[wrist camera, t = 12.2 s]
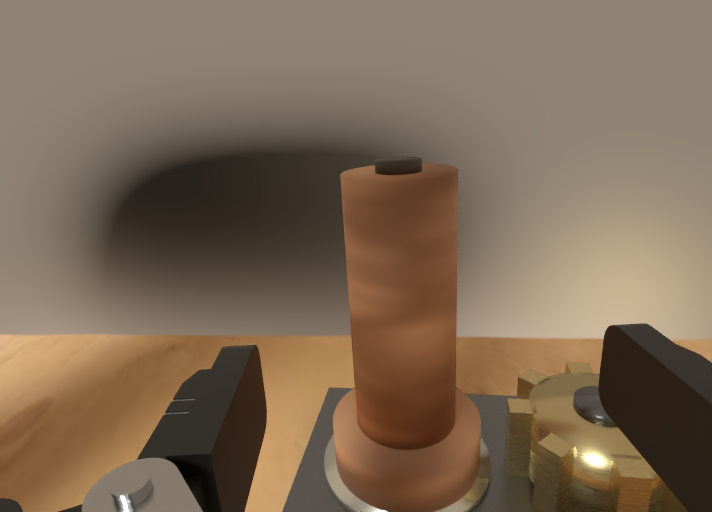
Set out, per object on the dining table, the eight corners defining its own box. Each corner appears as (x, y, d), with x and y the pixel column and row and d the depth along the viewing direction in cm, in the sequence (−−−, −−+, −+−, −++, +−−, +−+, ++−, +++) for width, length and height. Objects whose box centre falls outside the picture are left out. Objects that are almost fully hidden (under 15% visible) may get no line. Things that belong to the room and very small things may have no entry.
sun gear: (518, 539, 16) (524, 459, 15) (495, 415, 22) (498, 352, 21) (741, 561, 15) (764, 476, 14) (650, 423, 21) (661, 357, 20)
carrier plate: (269, 576, 16) (265, 548, 16) (330, 403, 26) (328, 382, 25) (791, 640, 14) (801, 608, 13) (647, 420, 23) (651, 397, 23)
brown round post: (321, 505, 18) (286, 176, 14) (350, 406, 23) (331, 153, 19) (486, 522, 16) (499, 169, 13) (474, 414, 22) (481, 146, 18)
